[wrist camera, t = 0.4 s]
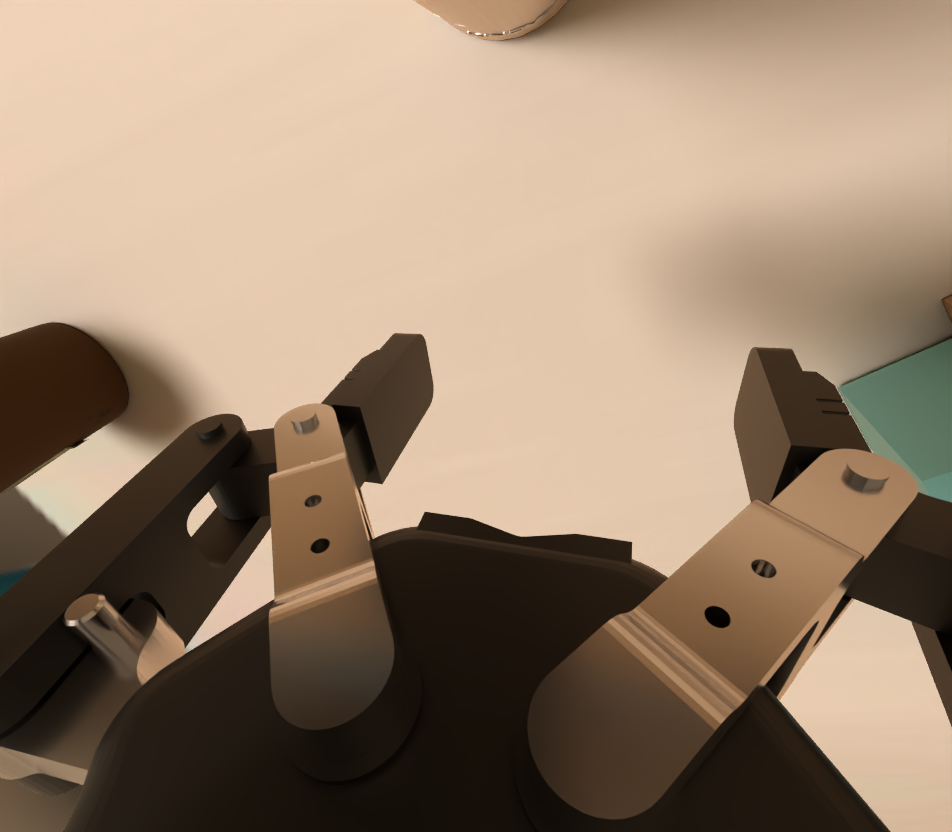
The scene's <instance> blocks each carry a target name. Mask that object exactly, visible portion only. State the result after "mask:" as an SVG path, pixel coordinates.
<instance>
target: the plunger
mask: <svg viewBox="0 0 952 832" xmlns="http://www.w3.org/2000/svg"><path fill="white" fill-rule="evenodd" d="M838 389H839V391H840V393H841V395H842V396H843V398H844V400H845V402H846V404H847V406H848V408H849V410H850V411H851V413H852V415H853V417H854V419H855V421H856V423H857V425H858V426H859V428H860V430H861V432H862V434H863V436H864V438H865V440H866V441H867V443H868V445H869V447H870V448H871V450H872V451H873V452H874V453H875V454H877V455H880V456H883V457H885V458H887V459H889V460H891V461H893V462H895V463H897V464H898V465H900V466H901V467H903V468H904V469H905V470H906V471H907V472H909V473H910V474H911V476H912V477H913V478H914V479H915V481H916V483H917V486H918V492H920V493H923V494H925V495H928V496H931V497H934V498H937V499H941V500H945V501H948V502H952V338H951V339H949V340H947V341H944V342H942V343H940V344H937V345H935V346H933V347H931V348H928V349H926V350H924V351H921V352H919V353H917V354H914V355H912V356H910V357H908V358H905V359H903V360H901V361H898V362H896V363H894V364H891V365H889V366H887V367H884V368H882V369H880V370H878V371H875V372H873V373H871V374H868V375H866V376H864V377H861V378H859V379H857V380H854V381H852V382H850V383H848V384H845V385H843V386H841V387H838Z"/></svg>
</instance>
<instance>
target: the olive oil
mask: <svg viewBox="0 0 952 832" xmlns="http://www.w3.org/2000/svg"><path fill="white" fill-rule="evenodd" d="M127 404H128V390H127V385H126V382H125V379H124V377H123V375H122V373H121V371H120V369H119V368H118V366H117V365H116V363H115V362H114V360H113V359H112V358H111V357H110V355H109V354H108V353H107V352H106V351H105V350H104V349H103V348H102V347H101V346H100V345H99V344H98V343H96V342H95V341H94V340H93V339H91V338H90V337H88V336H87V335H85V334H84V333H82V332H80V331H78V330H76V329H74V328H72V327H69V326H66V325H63V324H58V323H46V324H41V325H38V326H35V327H32V328H28V329H25V330H22V331H19V332H16V333H13V334H10V335H7V336H4V337H1V338H0V497H1V496H2V495H3V494H5V493H7V492H8V491H9V490H11V489H12V488H14V487H15V486H17V485H18V484H20V483H21V482H23V481H24V480H25V479H27V478H28V477H30V476H31V475H33V474H34V473H36V472H37V471H39V470H40V469H41V468H43V467H44V466H46V465H47V464H49V463H50V462H52V461H53V460H55V459H56V458H58V457H59V456H60V455H62V454H63V453H65V452H66V451H68V450H69V449H72V448H75V447H77V446H78V445H80V444H81V443H83V442H85V441H86V440H85V441H84V439H85V438H87V437H88V436H90V435H91V434H93V433H95V432H96V431H98V430H99V429H101V428H102V427H104V426H105V425H107V424H108V423H110V422H111V421H113V420H114V419H116V418H117V417H119V416H120V415H121V414H122V413H123V412H124V411H125V409H126V407H127ZM87 440H88V439H87Z"/></svg>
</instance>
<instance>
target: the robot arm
mask: <svg viewBox="0 0 952 832" xmlns="http://www.w3.org/2000/svg"><path fill="white" fill-rule="evenodd" d="M414 1H415V2H417V3H418V4H420V5H421V6H423V7H425V8H426V9H428V10H429V11H431V12H432V13H433V14H435V15H437V16H438V17H440V18H442V19H443V20H445V21H446V22H448V23H449V24H451V25H452V26H454V27H455V28H457V29H459V30H460V31H462V32H463V33H466V34H469V35H471V36H474V37H477V38H480V39H488V40H505V39H510V38H516V37H520V36H522V35H524V34H526V33H528V32H531V31H533V30H535V29H537V28H539V27H540V26H541V25H543V24H544V23H545V22H547V21H548V20H549V19H550V18H552V17H553V16H554V15H556V14H557V12H558V11H559V10H560V9H561V8H562V7H563V6H564V4H565V3H566V2H567V1H568V0H414ZM432 398H433V380H432V374H431V369H430V363H429V357H428V352H427V346H426V341H425V339H424V337H423V336H422V335H421V334H402V333H395V334H393V335H392V336H391V337H390V339H389V340H388V341H387V342H386V343H385V344H384V345H383V346H382V348H381V349H380V350H376V351H374V352H372V353H371V354H369V355H367V356H366V357H364V358H362V359H361V360H360V361H359V362H358V363H357V365H356V366H355V367H354V368H353V369H352V371H350V372H349V373H348V374H347V375H346V377H345V380H342V381H341V382H340V383H339V384H338V385H337V386H336V387H335V389H334V390H333V391H332V392H331V393H330V394H329V395H328V396H327V397H326V398H325V400H324V401H323V402H322V403H321V404H308V405H303V406H300V407H297V408H295V409H292V410H291V411H289V412H287V413H285V414H284V415H283V416H282V417H280V418H279V419H278V421H277V422H276V424H275V426H274V428H271V429H263V430H255V431H247V430H246V428H245V425H244V423H243V421H242V419H241V418H240V417H239V416H237V415H234V414H220V415H215V416H212V417H208V418H206V419H203V420H201V421H199V422H197V423H195V424H193V425H192V426H190V427H189V428H188V429H187V430H185V431H184V432H183V433H182V434H181V435H180V436H179V437H178V438H177V439H175V440H174V441H173V442H172V443H171V444H170V445H169V446H168V447H167V448H165V449H164V450H163V451H162V452H161V453H160V454H159V455H158V456H156V457H155V458H154V459H153V460H152V461H151V462H150V463H149V464H148V465H146V466H145V467H144V468H143V469H142V470H141V471H140V472H139V473H138V474H136V475H135V476H134V477H133V478H132V479H131V480H130V481H129V482H128V483H126V484H125V485H124V486H123V487H122V488H121V489H120V490H119V491H118V492H116V493H115V494H114V495H113V496H112V497H111V498H110V499H109V500H108V501H106V502H105V503H104V504H103V505H102V506H101V507H100V508H99V509H98V510H96V511H95V512H94V513H93V514H92V515H91V516H90V517H89V518H87V519H86V520H85V521H84V522H83V523H82V524H81V525H80V526H79V527H77V528H76V529H75V530H74V531H73V532H72V533H71V534H70V535H69V536H67V537H66V538H65V539H64V540H63V541H62V542H61V543H60V544H59V545H58V546H56V547H55V548H54V549H53V550H52V551H51V552H50V553H49V554H47V556H45V557H44V558H43V559H42V560H41V561H40V562H39V563H37V564H36V565H35V566H34V567H33V568H32V569H31V570H30V571H29V572H27V573H26V574H25V575H24V576H23V577H22V578H21V579H20V580H18V581H17V582H16V583H15V584H14V585H13V586H12V587H11V588H10V589H8V590H7V591H6V592H5V593H4V594H3V595H2V596H1V597H0V777H1V778H4V779H12V780H14V781H15V782H17V783H19V784H21V785H23V786H24V787H26V788H28V789H30V790H32V791H33V792H35V793H37V794H38V795H42V796H55V795H59V794H62V793H65V792H67V791H69V790H71V789H73V788H75V787H76V786H78V785H79V784H82V785H83V787H82V790H81V793H80V796H79V798H78V800H77V803H76V805H75V807H74V810H73V812H72V815H71V817H70V819H69V821H68V823H67V825H66V827H65V829H64V831H63V832H890V830H889V829H888V828H887V827H886V826H885V825H884V823H883V822H882V821H881V820H880V819H879V818H878V816H877V815H876V814H875V813H874V812H873V810H872V809H871V808H870V807H869V806H868V805H867V803H866V802H865V801H864V800H863V799H862V798H861V796H860V795H859V794H858V793H857V792H856V790H855V789H854V788H853V787H852V786H851V785H850V783H849V782H848V781H847V780H846V779H845V778H844V776H843V775H842V774H841V773H840V772H839V770H838V769H837V768H836V767H835V766H834V765H833V763H832V762H831V761H830V760H829V759H828V758H827V756H826V755H825V754H824V753H823V752H822V750H821V749H820V748H819V747H818V746H817V745H816V743H815V742H814V741H813V740H812V739H811V738H810V736H809V735H808V734H807V733H806V732H805V730H804V729H803V728H802V727H801V726H800V725H799V723H798V722H797V721H796V720H795V719H794V718H793V716H792V715H791V714H790V713H789V712H788V710H787V709H786V708H785V707H784V706H783V705H782V703H781V702H780V701H779V700H780V699H781V697H782V696H783V695H784V693H785V692H786V690H787V689H788V688H789V686H790V685H791V683H792V682H793V680H794V679H795V677H796V676H797V674H798V673H799V671H800V670H801V668H802V667H803V665H804V664H805V663H806V661H807V660H808V659H809V657H810V656H811V655H812V653H813V652H814V651H815V649H816V648H817V647H818V646H819V644H820V643H821V642H822V640H823V639H824V638H825V636H826V635H827V634H828V633H829V631H830V630H831V629H832V627H833V626H834V625H835V623H836V622H837V621H838V620H839V618H840V617H841V616H842V614H843V613H844V612H845V610H846V609H847V608H848V607H849V605H850V604H851V603H852V601H853V600H854V599H856V600H859V601H861V602H864V603H866V604H869V605H871V606H874V607H876V608H879V609H882V610H884V611H887V612H889V613H892V614H894V615H897V616H900V617H902V618H905V619H907V620H910V621H911V622H912V625H913V627H914V630H915V632H916V635H917V638H918V640H919V643H920V645H921V648H922V651H923V653H924V656H925V658H926V661H927V664H928V666H929V669H930V671H931V674H932V677H933V679H934V682H935V684H936V687H937V690H938V692H939V695H940V697H941V700H942V703H943V705H944V708H945V710H946V713H947V716H948V718H949V721H950V723H951V726H952V502H948V501H945V500H941V499H937V498H934V497H931V496H928V495H925V494H923V493H920V492H918V486H917V483H916V481H915V479H914V478H913V477H912V476H911V474H910V473H909V472H907V471H906V470H905V469H904V468H903V467H901V466H900V465H898V464H897V463H895V462H893V461H891V460H889V459H887V458H885V457H883V456H880V455H877V454H874V453H872V452H871V451H870V449H869V447H868V445H867V443H866V441H865V440H864V438H863V436H862V434H861V432H860V431H859V429H858V427H857V425H856V423H855V422H854V420H853V418H852V416H850V415H849V411H848V409H847V407H846V405H845V404H844V403H842V398H841V396H840V395H839V393H838V391H837V389H836V387H835V386H834V385H833V384H832V383H831V382H829V381H828V380H827V379H825V378H824V377H822V376H821V375H820V374H818V373H817V372H809V371H802V369H801V367H800V365H799V363H798V361H797V358H796V356H795V354H794V352H793V350H792V349H785V348H758V347H754V348H752V349H751V351H750V353H749V356H748V360H747V364H746V367H745V371H744V375H743V379H742V383H741V387H740V391H739V394H738V398H737V402H736V407H735V413H734V430H735V435H736V439H737V443H738V448H739V452H740V456H741V461H742V465H743V470H744V474H745V478H746V483H747V487H748V491H749V496H750V500H751V503H750V504H749V505H748V506H747V507H746V508H745V509H744V510H743V511H741V512H740V513H739V514H738V515H737V516H736V517H735V518H734V519H733V520H732V521H730V522H729V523H728V524H727V525H726V526H725V527H724V528H723V529H722V530H721V531H719V532H718V533H717V534H716V535H715V536H714V537H713V538H712V539H711V540H710V541H709V542H707V543H706V544H705V545H704V546H703V547H702V548H701V549H700V550H699V551H698V552H696V553H695V554H694V555H693V556H692V557H691V558H690V559H689V560H688V561H687V562H685V563H684V564H683V565H682V566H681V567H680V568H679V569H678V570H677V571H676V572H675V573H673V574H672V575H671V576H670V577H669V578H668V577H666V576H665V575H663V574H661V573H660V572H658V571H657V570H655V569H653V568H651V567H649V566H647V565H645V564H643V563H641V562H638V561H635V560H633V559H632V542H628V541H621V540H614V539H607V538H601V537H594V536H587V535H580V534H567V535H549V536H531V537H520V536H515V535H513V534H510V533H507V532H505V531H502V530H500V529H497V528H494V527H492V526H489V525H487V524H484V523H481V522H479V521H476V520H474V519H471V518H464V517H457V516H450V515H443V514H437V513H430V512H425V513H424V515H423V517H422V519H421V521H420V523H419V525H418V527H410V528H404V529H399V530H396V531H392V532H389V533H386V534H383V535H381V536H378V537H376V538H375V537H374V533H373V530H372V526H371V523H370V519H369V516H368V512H367V509H366V505H365V502H364V498H363V495H362V492H361V489H360V488H361V486H362V485H363V483H364V482H372V483H379V484H383V482H384V481H385V479H386V477H387V476H388V474H389V472H390V471H391V469H392V467H393V466H394V464H395V462H396V461H397V459H398V458H399V456H400V454H401V453H402V451H403V449H404V448H405V446H406V444H407V443H408V441H409V439H410V438H411V436H412V434H413V433H414V431H415V429H416V428H417V426H418V424H419V423H420V421H421V419H422V418H423V416H424V415H425V413H426V411H427V410H428V408H429V406H430V404H431V402H432ZM208 492H209V493H210V495H211V497H212V498H213V500H214V502H215V503H216V505H217V508H216V509H215V510H214V511H213V512H212V514H211V515H210V516H209V517H208V518H207V519H206V521H205V522H204V523H203V524H202V525H201V526H200V528H199V529H198V530H197V531H196V532H195V533H194V535H193V536H192V537H191V536H190V535H189V533H188V531H187V519H188V516H189V514H190V512H191V511H192V509H193V508H194V507H195V506H196V505H197V504H198V503H199V501H200V500H201V499H202V498H203V497H204V496H205V495H206V494H207V493H208ZM270 527H271V534H272V553H273V573H274V592H275V599H274V600H272V601H270V602H269V603H267V604H266V605H264V606H262V607H261V608H259V609H257V610H256V611H254V612H253V613H251V614H249V615H248V616H246V617H245V618H243V619H241V620H240V621H238V622H236V623H235V624H233V625H232V626H230V627H228V628H227V629H225V630H223V631H222V632H220V633H219V634H217V635H215V636H214V637H212V638H210V639H209V640H207V641H206V642H204V643H202V644H201V645H199V646H197V647H196V648H194V649H193V650H191V651H189V652H188V653H186V654H185V648H186V646H187V645H188V643H189V642H190V641H191V639H192V638H193V636H194V635H195V634H196V632H197V631H198V629H199V628H200V626H201V625H202V624H203V622H204V621H205V619H206V618H207V617H208V615H209V614H210V612H211V611H212V609H213V608H214V607H215V605H216V604H217V602H218V601H219V600H220V598H221V597H222V595H223V594H224V593H225V591H226V590H227V588H228V587H229V585H230V584H231V583H232V581H233V580H234V578H235V577H236V576H237V574H238V573H239V571H240V570H241V568H242V567H243V566H244V564H245V563H246V561H247V560H248V559H249V557H250V556H251V554H252V553H253V552H254V550H255V549H256V547H257V546H258V544H259V543H260V542H261V540H262V539H263V537H264V536H265V535H266V533H267V532H268V530H269V529H270Z"/></svg>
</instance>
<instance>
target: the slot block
mask: <svg viewBox="0 0 952 832" xmlns="http://www.w3.org/2000/svg"><path fill="white" fill-rule="evenodd" d="M942 301H943V304H944V306H945V308H946V311H947V313H948V315H949V318H950V320H951V323H952V295H950V296H948V297H946V298H944V299H942Z"/></svg>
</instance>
